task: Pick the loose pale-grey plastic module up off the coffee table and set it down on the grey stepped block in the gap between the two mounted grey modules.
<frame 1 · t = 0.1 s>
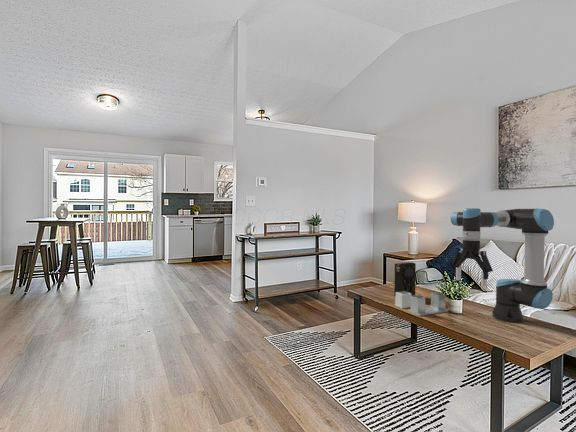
hand: (470, 283, 158), 28 cm above the table, fingers open, 13 cm apart
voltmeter: (404, 297, 236), on the table
grey stepped block: (428, 311, 202), on the table
loose fuse: (418, 302, 221), on the table
module: (403, 306, 212), on the table
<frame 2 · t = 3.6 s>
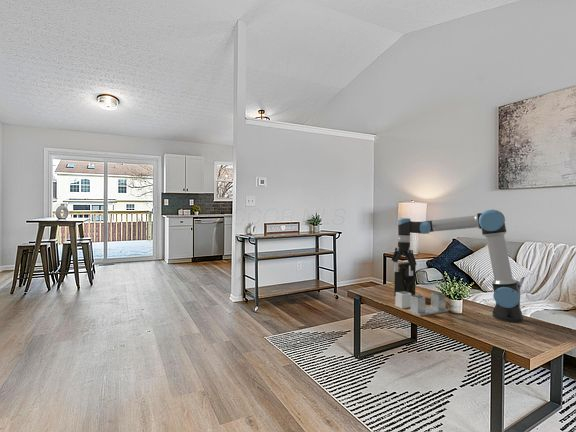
hand: (403, 273, 212), 22 cm above the table, fingers open, 13 cm apart
nothing on the table moved.
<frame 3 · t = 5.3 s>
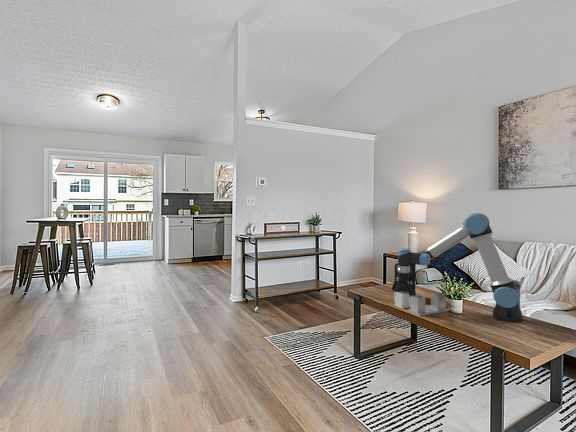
hand: (403, 304, 212), 2 cm above the table, fingers open, 13 cm apart
nothing on the table moved.
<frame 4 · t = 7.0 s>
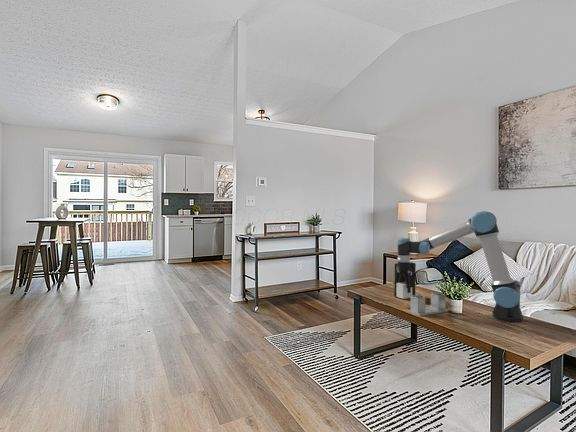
hand: (404, 296, 212), 7 cm above the table, fingers closed on module, 6 cm apart
module: (404, 297, 212), point 6 cm above the table, touching gripper
everything else where it was.
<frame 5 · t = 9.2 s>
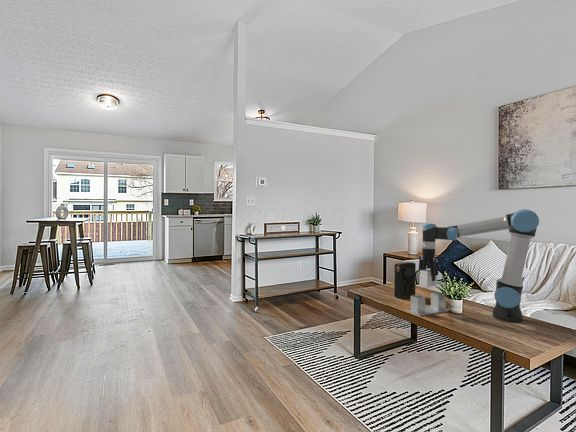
hand: (427, 284, 202), 17 cm above the table, fingers closed on module, 6 cm apart
module: (427, 285, 202), point 16 cm above the table, touching gripper
everything else where it was.
when the fingers open (2 cm above the table, at t = 11.6 s): module stays where it is, resting on grey stepped block.
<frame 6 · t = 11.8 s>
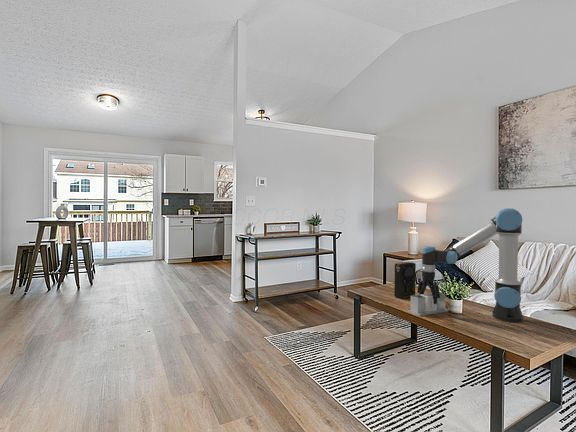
hand: (428, 306, 202), 3 cm above the table, fingers open, 8 cm apart
module: (428, 309, 202), point 1 cm above the table, touching grey stepped block
everything else where it was.
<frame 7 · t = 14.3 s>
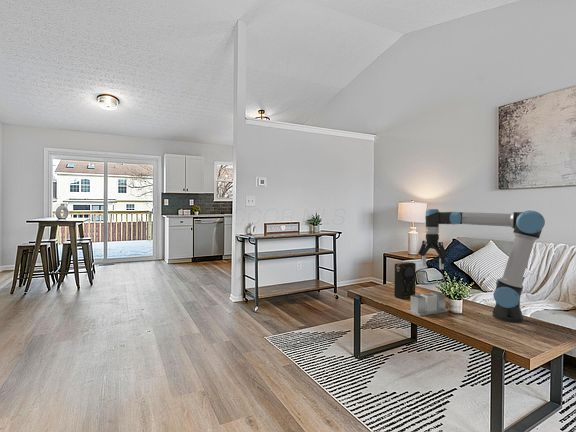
hand: (432, 267, 201), 28 cm above the table, fingers open, 13 cm apart
nothing on the table moved.
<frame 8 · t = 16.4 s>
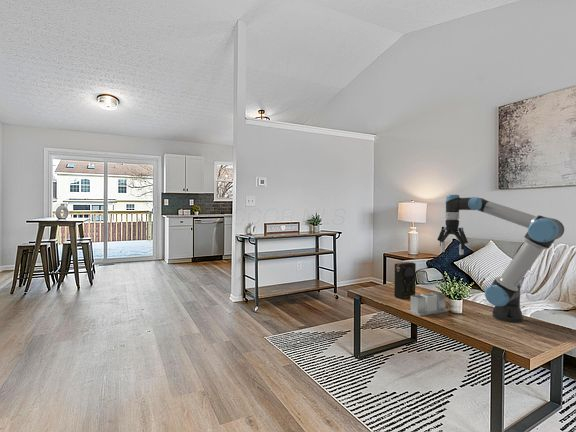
hand: (451, 253, 201), 37 cm above the table, fingers open, 13 cm apart
nothing on the table moved.
at the end: module inside the target area on the grey stepped block (0.1 cm from its centre), point 1.2 cm above the grey stepped block's base; module tilted 0°; the gripper is holding nothing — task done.
